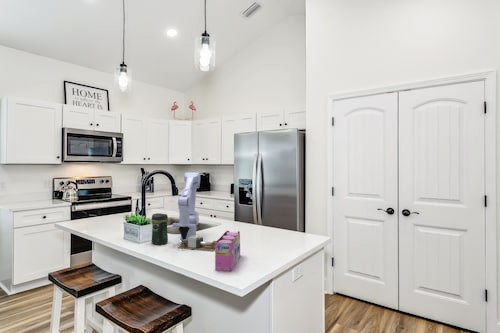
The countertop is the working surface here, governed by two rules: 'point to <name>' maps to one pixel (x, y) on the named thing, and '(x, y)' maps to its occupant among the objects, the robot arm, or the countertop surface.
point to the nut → (199, 242)
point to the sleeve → (193, 241)
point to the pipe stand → (203, 248)
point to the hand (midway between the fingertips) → (184, 239)
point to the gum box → (227, 251)
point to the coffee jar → (159, 228)
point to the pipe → (200, 243)
